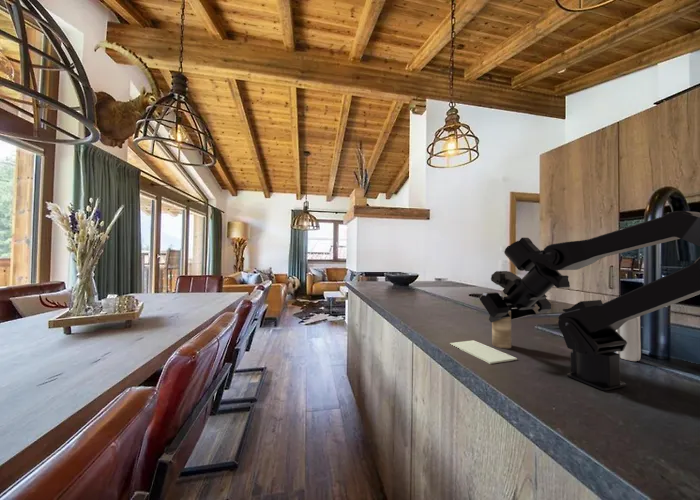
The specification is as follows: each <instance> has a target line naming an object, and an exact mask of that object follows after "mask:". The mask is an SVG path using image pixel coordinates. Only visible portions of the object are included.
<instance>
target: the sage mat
mask: <svg viewBox="0 0 700 500" xmlns="http://www.w3.org/2000/svg"><path fill="white" fill-rule="evenodd" d="M450 344H451V345H450ZM449 345H450V346H452V345H453V347H454V346H455V348H456V347H457V348H456V349H458V348H459V350H461V351H462V352H465V353H467V354H469V355H471V356H473V357H475V358H477V359H479V360H481V361H484V362H486V363H487V364H489V365H493V364H498V363H505V362H511V361H517V360H518V358H517V357H515V356H513V355H510V354H509V353H505V352H503V351H501V350H498V349H496V348H493V347H491V346H488V345H486V344H484V343H481V342H478V341H476V340H474V339H473V340H464V341H457V342H456V341H455V342H449Z"/></svg>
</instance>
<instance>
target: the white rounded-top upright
mask: <svg viewBox="0 0 700 500" xmlns="http://www.w3.org/2000/svg"><path fill="white" fill-rule="evenodd" d="M616 332H617V333H618V334H619V335H620V336H621V337H622V338H623V339H624V340H626V342H627V345H626V347H625V349H624V351H617V352H616V353H618V354H620V360H621V359H622V360H625V361H631V362H637V361H638V362H639V361H640V360H641V356H642V346H641V345H642V344H641V316H639V317H636V318H634V319H631V320H628V321H627V322H625V323H624V324H623V325H622V326H621V327H620V328H619V329H617V330H616Z"/></svg>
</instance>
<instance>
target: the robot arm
mask: <svg viewBox="0 0 700 500" xmlns="http://www.w3.org/2000/svg"><path fill="white" fill-rule="evenodd" d="M680 239H681V240H684V241H686V242H688V243H690V244H693V245H696V246H698V247H700V212H698V211H689V210H675V211H671V212H668V213H666V214H665V215H663V216H659V217H656V218H653V219H651V220H647V221H643V222H640V223H636V224H634V225H630V226H627V227H624V228H622V229H617V230H615V231H610V232H608V233H607V232H606V233H604V234H602V235H598V236H595V237H591V238H588V239H583V240H582V239H581V240H573V241H565V242H563V241H562V242H558V243H552V244H549V245H546V246H545V247H544V248H543V250H540V249H539V247H537V246H536V245H535V244H534V242H533V241H532V240H531V239H530V238H529V237H521V238H520V239H519V240H516V241H514V242H513V243H511V244H509V245H508V246H507V247H506V248H505V249H504V256H506V258H508V259H509V261H510V262H511V263H512V264H513V266H514V267H515V268H516V269H517V270H518V271H520V272H521V271H522V272H523V271H525V272H527V273H526V274H525V275H524V276H523V277H520V276H518V275H516V274H515V273H514V272H511V271H509V270H496V271H495V272H494V273H492V274H491V277H490V281H491V282H493V284H495V285H498V286H500V288H502V292H503V294H504V295H506V296H503V297H502V296H501V295H500V293H499V292H496V291H495V292H494V291H491V292H482V294H481V295H479V300H480V302H481V303H482V305H483V307H484V308H485V310H486V311H487V313H488V314H489V318H488V321H489V322H490V323H492V322H495V321H499V320H502V319H505V318H508V317H510V315H509V314H508V313H509V311H511V321H512V320H516V319H521V318H526V317H530V316H536V314H537V313H538V314H547V313H548V312H549V311H551V310H552V304H551V302H550V301H549V300H548V298H547V297H548V296H547V295H546V294H547V293H548V292H549V291H550V290H551V289H552V288H553V287H555V288H557V289H565V288H566V289H567V288H570V286H571V285H570V281H569V275H563V274H562V273H561V272H560V271H577V270H580V269H583V268H585V267H589V266H590V265H593V264H594V263H596V262H598V261H599V260H602V259H603V258H606V257H610V256H614V255H618V254H623V253H627V252H630V251H635V250H639V249H643V248H647V247H651V246H657V245H660V244H664V243H668V242H671V241H676V240H680ZM699 295H700V256H699V257H698V258H697V259H696V260H695V261H694V262H692V263H691V264H689V265H687V266H685V267H683V268H681V269H679V270H676V271H673V272H671V273H669V274H666V275H665V276H662V277H660V278H657V279H656V280H653V281H651V282H649V283H646V284H644V285H642V286H639V287H637V288H635V289H633V290H631V291H628V292H625V293H624V294H622V295H619V296H617V297H615V298H613V299H611V300H608V301H606V302H603V301H602V300H601V299H595V300H594V299H593V300H581V301H578V302H577V303H576V304H574V305H573V306H571V307H569V308H563V309H562V311H563V312H562V313H561V314H560V315H559V316H558V318H557V319H558V322H557V323H558V328H559V330H560V332H561V334H562V337H563V340H564V341H565V342H564V343H565V345H566V348H567V349H570V350H571V351H570V352H569V353H570V357H569V358H570V364H569V365H570V372H569V373H566V374H567V377H568V378H571V379H574V380H576V381H578V382H581V383H584V384H586V385H589V386H591V387H594V388H596V389H597V390H601V391H611V390H615V389H620V388H623V387H627V383H626V382H624V381H621V358H620V354H618V353H617V351H624V349H625V347H626V345H627V342H626V340H624V339H623V338H622V337H621V336H620V335H619V334H618V333H617V332H616V330H617V329H619V328H620V327H621V326H622V325H623V324H624V323H625V322H627V321H628V320H631V319H634V318H636V317H639V316H640V317H642V316H644V315H647V314H651V313H653V312H655V311H658V310H661V309H663V308H666V307H668V306H672V305H675V304H677V303H679V302H682V301H683V302H684V301H685V300H688V299H691V298H693V297H695V296H699ZM536 305H537V307H539V308H538V309H537V311H535V310H534V309H535V308H536ZM536 312H537V313H536Z"/></svg>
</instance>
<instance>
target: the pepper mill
mask: <svg viewBox="0 0 700 500" xmlns="http://www.w3.org/2000/svg"><path fill="white" fill-rule="evenodd" d="M508 314H509V315H510V317H508V318H505V319H502V320H499V321H495V322H491V344H492V346H494V347H495V348H499V349H512V320H511V311H509V313H508Z"/></svg>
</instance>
